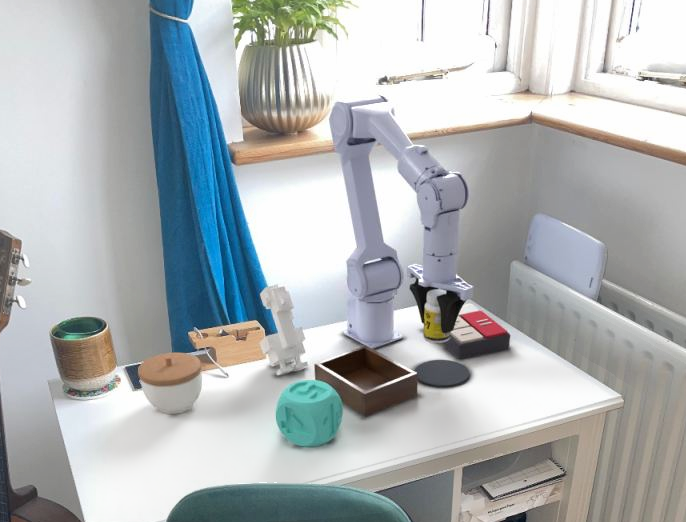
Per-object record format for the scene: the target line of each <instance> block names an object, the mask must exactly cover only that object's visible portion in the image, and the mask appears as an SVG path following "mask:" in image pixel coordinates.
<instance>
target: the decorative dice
mask: <svg viewBox="0 0 686 522" xmlns="http://www.w3.org/2000/svg"><path fill="white" fill-rule="evenodd" d="M343 413H344V404H343V403H342V401H341V399H340V397H339V395H338V393H337V392H336V391H335V390H334V389H333V388H332V387H331V386H330V385H329V384H327V383H325V382H322V381H318V380H315V379H304V380H303V379H302V380H299V381H295V382H293V383H290V384H289V385H288V386H286V387H285V388H284V389H283V390H282V392H281V394H280V396H279V398H278V400H277V403H276V407H275V421H276V422H275V423H276V425H277V428H278V430H279V431H280V433H281V434H282V435H283V436H284V438H285V439H286V440H287V441H288V442H291V443H292V444H294V445H297V446H299V447H304V448H305V447H307V448H310V447H311V448H312V447H320V446H322V445H325V444H327V443H328V442H330V441H332V439H333V438H334V437H335V436H336V434H337V433H338V431H339V429H340V427H341V423H342V419H343V415H344V414H343Z"/></svg>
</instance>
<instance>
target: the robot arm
mask: <svg viewBox="0 0 686 522" xmlns="http://www.w3.org/2000/svg"><path fill="white" fill-rule="evenodd" d="M328 122H329V127H330V133H331V140H332V144H333V148H334V152H335V153H337V154H338V155H339V160H340V164H341V170H342V176H343V179H344V185H345V186H344V187H345V191H346V196H347V202H348V207H349V208H348V209H349V212H350V218H351V223H352V229H353V235H354V239H355V240H354V241H355V245H356V248H355V249H354V250H353V252H351V254H350V256H349V257H348V258H347V260H346V261H345V263H346V285H347V288H348V291H349V293H350V294H349V296H348V298H347V301H346V325H347V327H346V328H347V329H346V330H345V331H343V334H344V335H345V336H347V337H349V338H351V339H353V340H354V341H357V342H358V343H360V344H362V345H363V346H365V345H366V346H368V347H370V348H372V349H374V350H375V349H377V348H379V347H382V346H384V345H388V344H390V343H393V342H395V341H398V340H401V339H403V338H404V336H403V334H401V333H399V332H397V331H395V330H394V329H395V328H394V325H395V324H394V320H395V319H394V318H395V317H394V315H395V313H394V312H395V311H394V310H395V309H394V308H395V306H394V305H395V296H397V295H398V290H399V289H400V288H402V286H403V283H404V277H405V274H404V269H403V266H402V264H401V263H400V260H399V257H398V251H397V249H395V248H394V247H392V246H390V245H389V244H387V243H386V242H385V241H384V235H383V230H382V224H381V223H382V222H381V218H380V213H379V207H378V201H377V196H376V190H375V185H374V178H373V174H372V173H373V172H372V166H371V162H370V161H371V160H370V154H371V152H372V150H373V149H374V148H375V147H376V146H378V144H379V145H381V146H382V147H383V148H384V149H385V150H386V151H387V152H388V153H389V154H390V155H391V156H392V157H393V158H395V160H397V166H396V169H397V173H398V174H399V175H401V177H402V178H403V179H404V180H405V182H406V183H407V184H408V185H409V186H410V187H411V189H412V190H413V191H414V193H415V194H416V203H417V206H418V209H419V212H420V221H421V225H423V238H422V265H420V264H418V263H413V264H410V265H407V266H406V277H407V278H409V279H413V278H414V279H415V281H414V283H411V284H409V290H410V292H411V294H412V296H413V298H414V300H415V302H416V305H417V308H418V309H417V310H418V312H419V316H420V321H421V323H422V324H423V325H424V307H425V304H426V302H427V292H428V291H430V290H434V289H442V290H445V291H446V294H443V295H440V296H437V301H438V304H439V307H440V312H441V329H442V333H448V332H451V331H453V329H454V326H455V323H456V320H457V317H458V315H459V312H460V310H461V308H462V306H463V305H465V304H466V303H467V300H468V301H469V300H470V299H473V298H474V286H473V285H471V284H469V283H467V282H466V281H465V280H464V279H463V278H461V277H460V276H459V275H458V274H457V273H458V272H457V271H458V250H459V234H460V233H459V231H460V215H461V210H462V209H464V208H466V206H467V204H468V201H469V197H470V196H469V195H470V194H469V193H470V192H469V187H468V183H467V180H466V179H465V178H464V176H463V174H462V173H461V172H458V171H454V172H453V171H451V170H447V169H445V168H444V166H443V165H442V164H441V163H440V162H439V161H438V160H437V158H435V157H434V155H433V154H432V153H431V152H430V151H429V150H430V149H429V148H428V147H427V146H426V145H423V144H414V143H413V142H412V141H411V139H410V137H409V136H408V135H407V134H406V132H405V131H404V129H403V128H402V127H401V125H400V123H398V122H397V119H396V117H395V107H394V104H393V103H392V102H391V101H390V100H389V99H388V97H387V96H386V95H385V94H382V93H381V94H376V95H373V96H366V97H360V98H354V99H348V100H337V101H335V102H334V103H333V106H332V108H331V112H330V114H329V118H328Z"/></svg>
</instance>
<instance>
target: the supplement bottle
mask: <svg viewBox="0 0 686 522" xmlns="http://www.w3.org/2000/svg"><path fill="white" fill-rule="evenodd" d="M443 294H446V291H445V290H442V289H440V288H439V289H434V290H430V291H428V292H427V302H426V304H425V307H424V324H423V340H425V341H426V342H428V343H431V344H442V343H443V342H446V341H448V340H449V339H450V335H451V332H448V333H442V329H441V312H440V307H439V304H438V301H437V296H440V295H443Z"/></svg>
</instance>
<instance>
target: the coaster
mask: <svg viewBox="0 0 686 522" xmlns="http://www.w3.org/2000/svg"><path fill="white" fill-rule="evenodd" d="M413 371H414V372H416V373H418V382H420V383H421V384H424V385H426V386H430V387H435V388H450V387H455V386H459V385H462V384H464V383H465V382H466V381H468V379H469V378H470V375H471V374H470V369H469V368H468V367H467V366H466V365H464V364H463V363H461V362H458V361H454V360H448V359H433V360H427V361H425V362H421V363H420V364H418V365H417V366H416V367H415V369H414V370H413Z"/></svg>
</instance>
